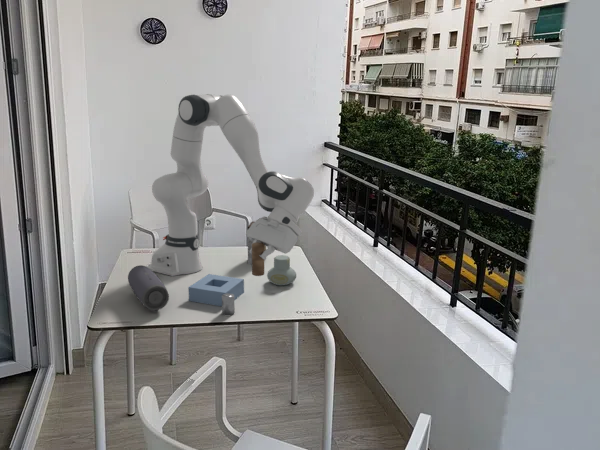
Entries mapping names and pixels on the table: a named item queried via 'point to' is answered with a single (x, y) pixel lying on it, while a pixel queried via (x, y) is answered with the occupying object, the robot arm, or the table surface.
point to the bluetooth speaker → (148, 288)
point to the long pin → (257, 259)
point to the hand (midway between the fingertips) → (256, 255)
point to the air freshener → (281, 271)
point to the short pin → (228, 304)
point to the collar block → (215, 289)
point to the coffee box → (250, 247)
